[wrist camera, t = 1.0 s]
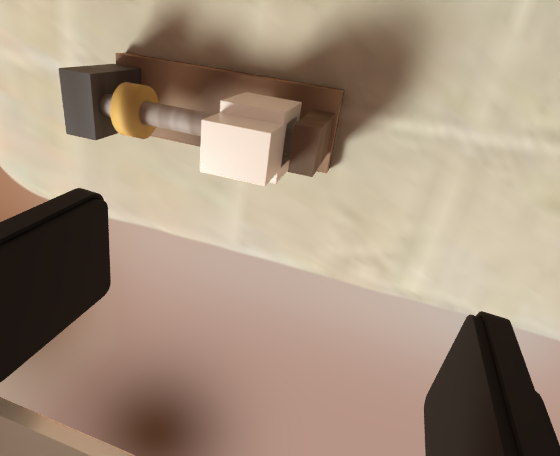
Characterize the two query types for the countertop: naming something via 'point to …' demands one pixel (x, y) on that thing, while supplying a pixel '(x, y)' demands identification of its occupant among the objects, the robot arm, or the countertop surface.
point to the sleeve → (248, 138)
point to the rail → (190, 104)
